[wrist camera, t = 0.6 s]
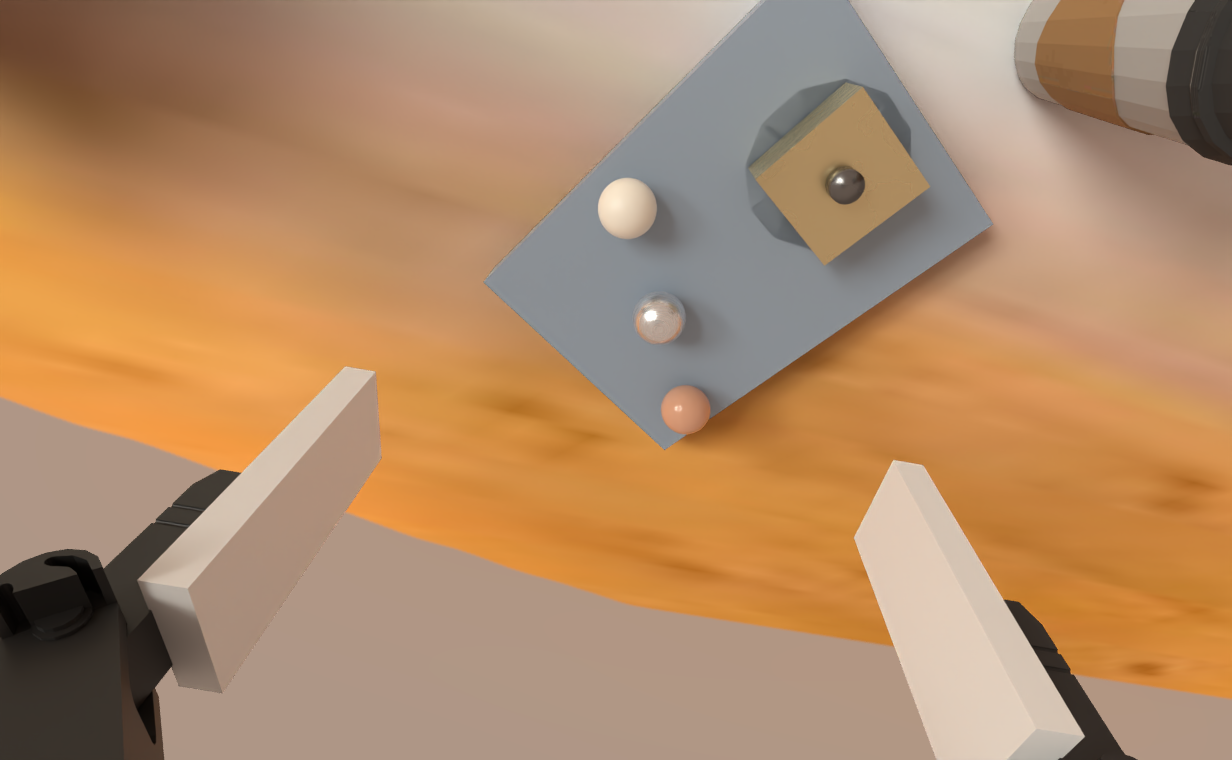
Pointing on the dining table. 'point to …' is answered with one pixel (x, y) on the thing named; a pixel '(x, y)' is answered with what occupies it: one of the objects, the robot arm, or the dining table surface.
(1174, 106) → the coffee cup
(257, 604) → the robot arm
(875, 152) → the brass cover
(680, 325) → the steel ball
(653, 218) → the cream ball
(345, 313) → the dining table surface
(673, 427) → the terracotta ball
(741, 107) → the board
